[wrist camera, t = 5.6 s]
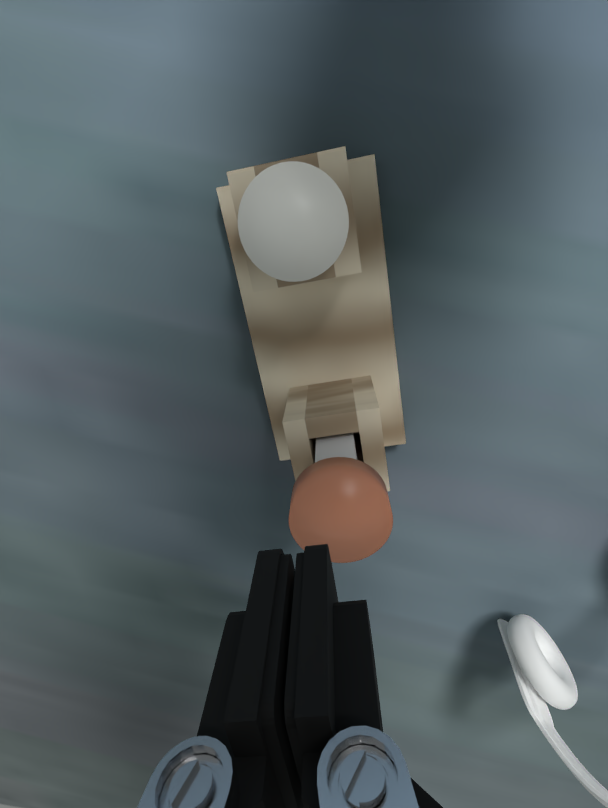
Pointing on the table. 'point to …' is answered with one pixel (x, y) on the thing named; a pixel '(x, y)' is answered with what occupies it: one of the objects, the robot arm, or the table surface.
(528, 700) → the headset
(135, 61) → the table surface
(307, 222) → the plug
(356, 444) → the block
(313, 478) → the terracotta plug
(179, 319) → the table surface
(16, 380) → the table surface
